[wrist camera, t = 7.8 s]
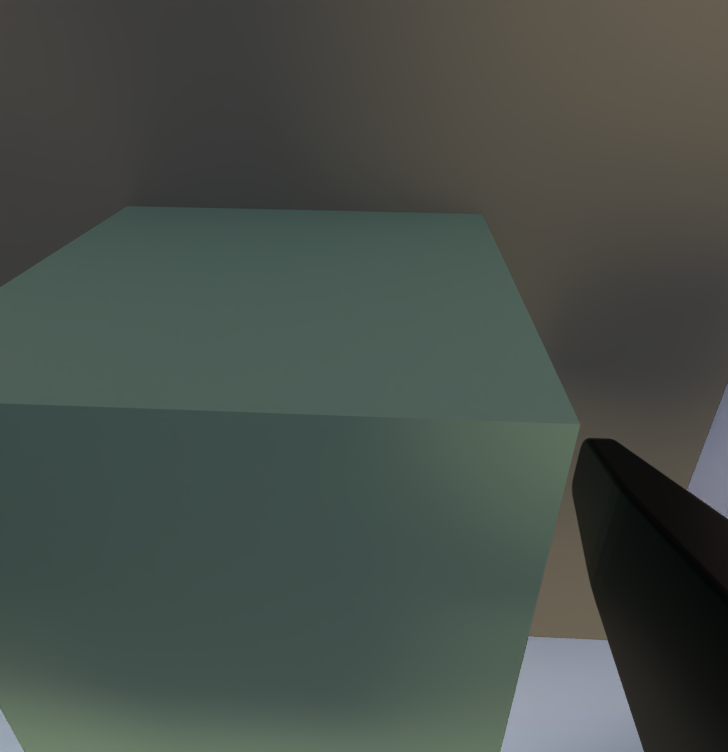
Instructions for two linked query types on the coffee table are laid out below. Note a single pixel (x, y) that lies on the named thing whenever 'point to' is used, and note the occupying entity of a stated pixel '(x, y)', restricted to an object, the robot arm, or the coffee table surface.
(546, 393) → the cube
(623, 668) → the robot arm
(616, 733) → the coffee table surface
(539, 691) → the coffee table surface
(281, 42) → the mat
